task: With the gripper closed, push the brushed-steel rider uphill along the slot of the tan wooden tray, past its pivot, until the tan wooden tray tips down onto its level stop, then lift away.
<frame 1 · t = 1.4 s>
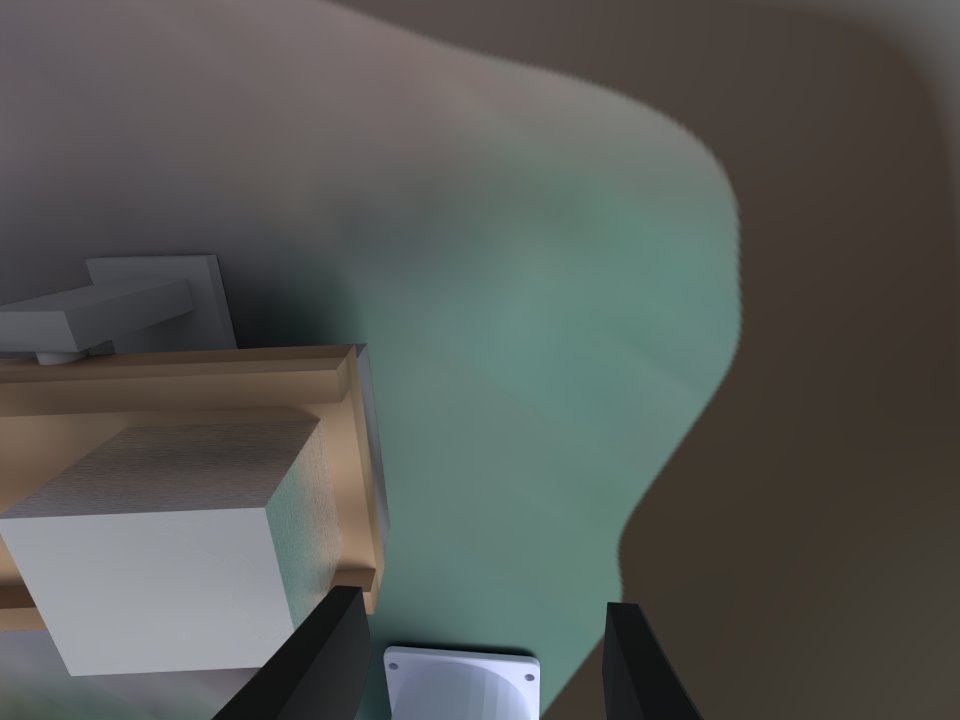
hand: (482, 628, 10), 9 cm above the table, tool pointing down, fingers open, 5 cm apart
tan wooden tray: (42, 489, 16), point 5 cm above the table, hinge at 7.5°, touching rider
stand: (200, 416, 20), on the table
rider: (240, 491, 15), point 5 cm above the table, tilted 7°, touching tan wooden tray
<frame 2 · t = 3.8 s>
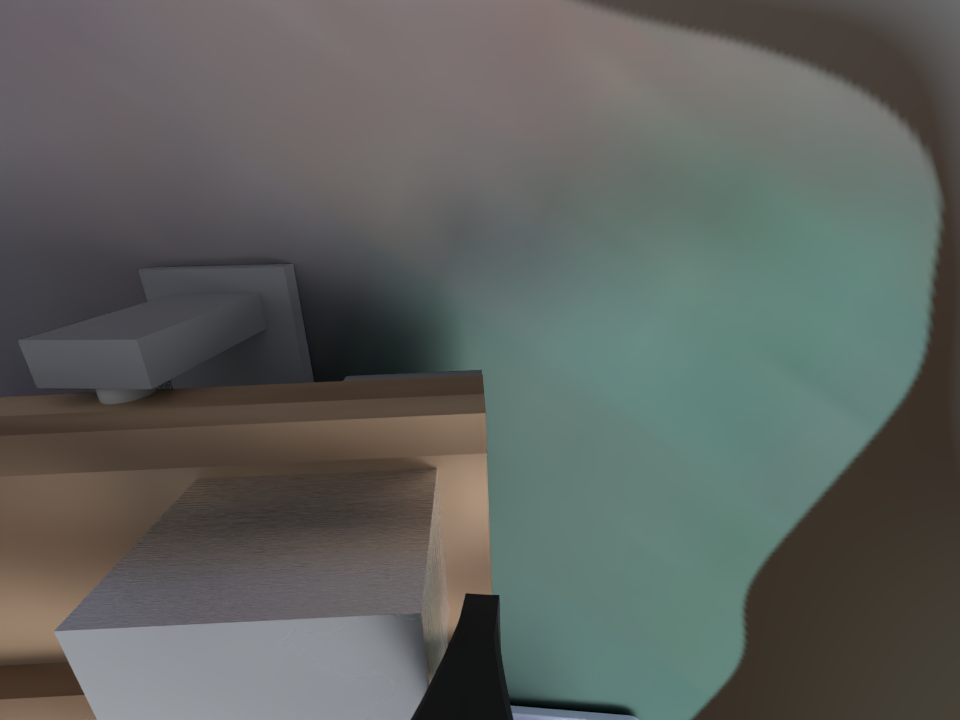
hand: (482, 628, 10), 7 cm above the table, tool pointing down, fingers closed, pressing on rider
tan wooden tray: (96, 549, 13), point 5 cm above the table, hinge at 7.5°, touching rider
stand: (264, 449, 18), on the table
rider: (331, 553, 12), point 5 cm above the table, tilted 7°, touching tan wooden tray, gripper
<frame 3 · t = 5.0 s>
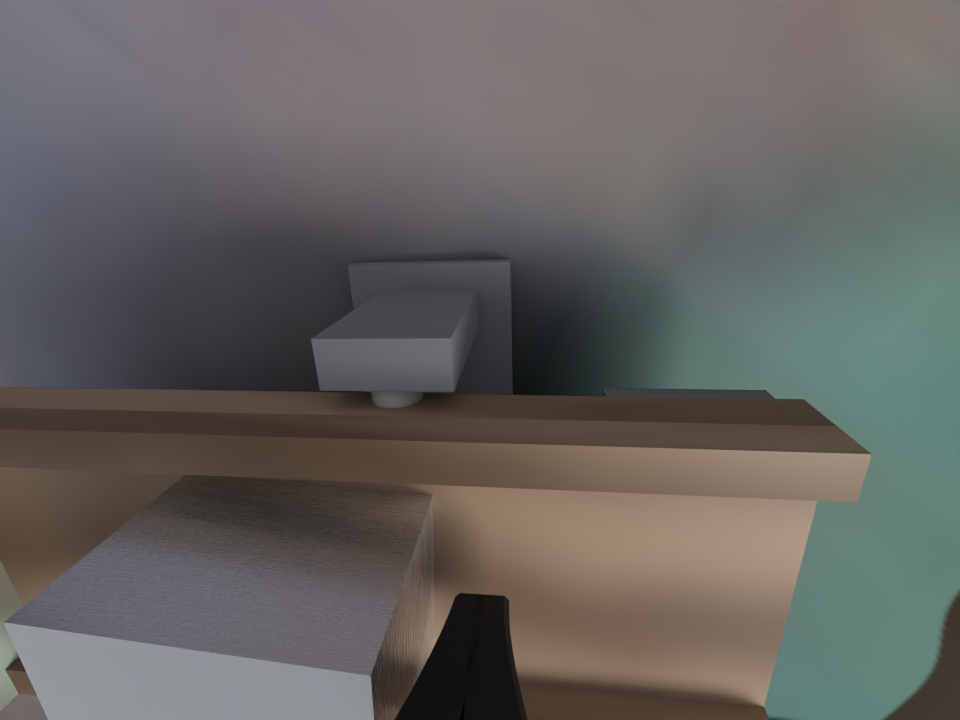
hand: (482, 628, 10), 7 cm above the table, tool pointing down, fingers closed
tan wooden tray: (338, 554, 12), point 5 cm above the table, hinge at -0.8°, touching rider
stand: (445, 454, 17), on the table
rider: (318, 564, 12), point 6 cm above the table, touching tan wooden tray, gripper
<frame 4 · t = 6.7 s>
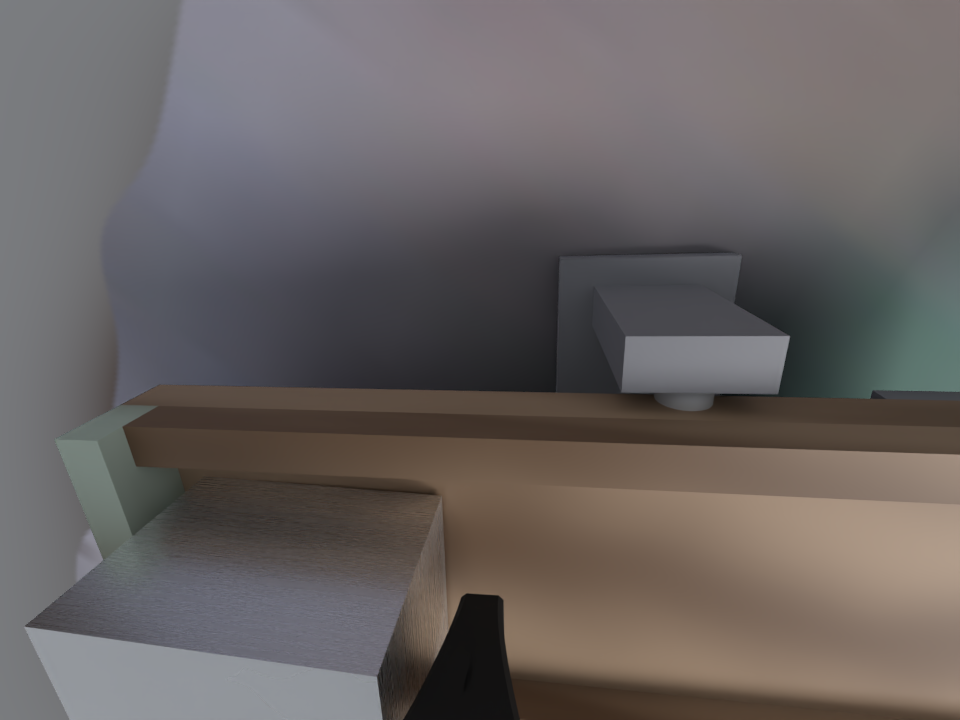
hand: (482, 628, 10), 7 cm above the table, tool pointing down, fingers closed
tan wooden tray: (583, 565, 12), point 5 cm above the table, hinge at -1.3°, touching rider
stand: (626, 457, 16), on the table
rider: (331, 567, 12), point 6 cm above the table, touching tan wooden tray, gripper
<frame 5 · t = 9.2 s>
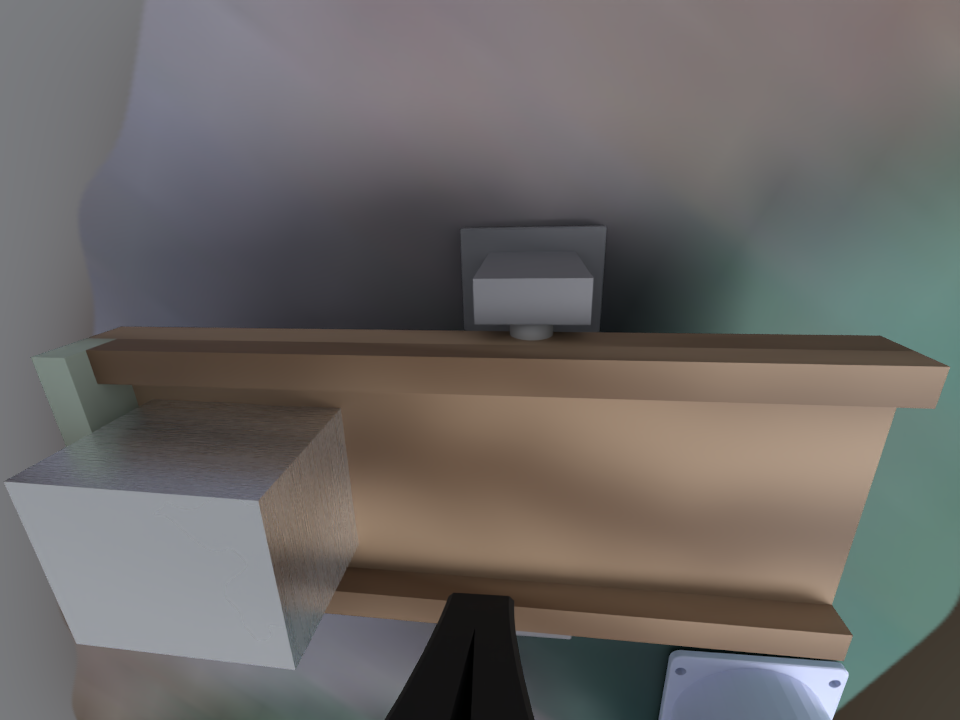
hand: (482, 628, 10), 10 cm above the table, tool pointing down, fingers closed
tan wooden tray: (464, 474, 14), point 5 cm above the table, hinge at -1.1°, touching rider
stand: (529, 404, 19), on the table
rider: (259, 474, 15), point 6 cm above the table, touching tan wooden tray
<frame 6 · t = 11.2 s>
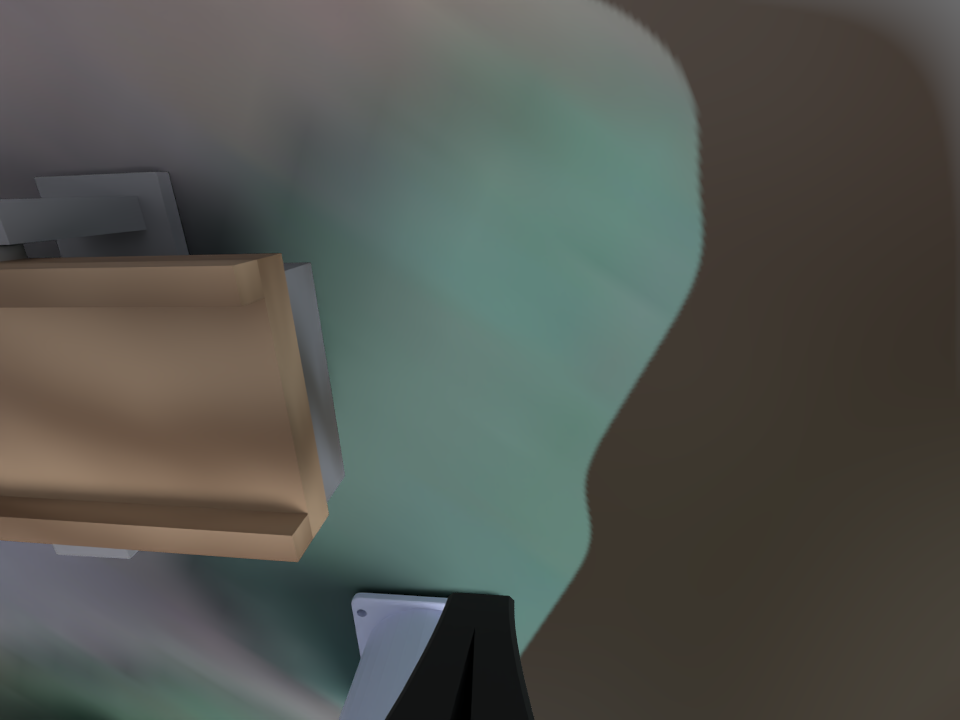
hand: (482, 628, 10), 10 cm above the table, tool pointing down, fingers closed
stand: (159, 348, 20), on the table
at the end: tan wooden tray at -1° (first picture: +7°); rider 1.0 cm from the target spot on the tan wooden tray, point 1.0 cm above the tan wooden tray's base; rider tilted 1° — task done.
